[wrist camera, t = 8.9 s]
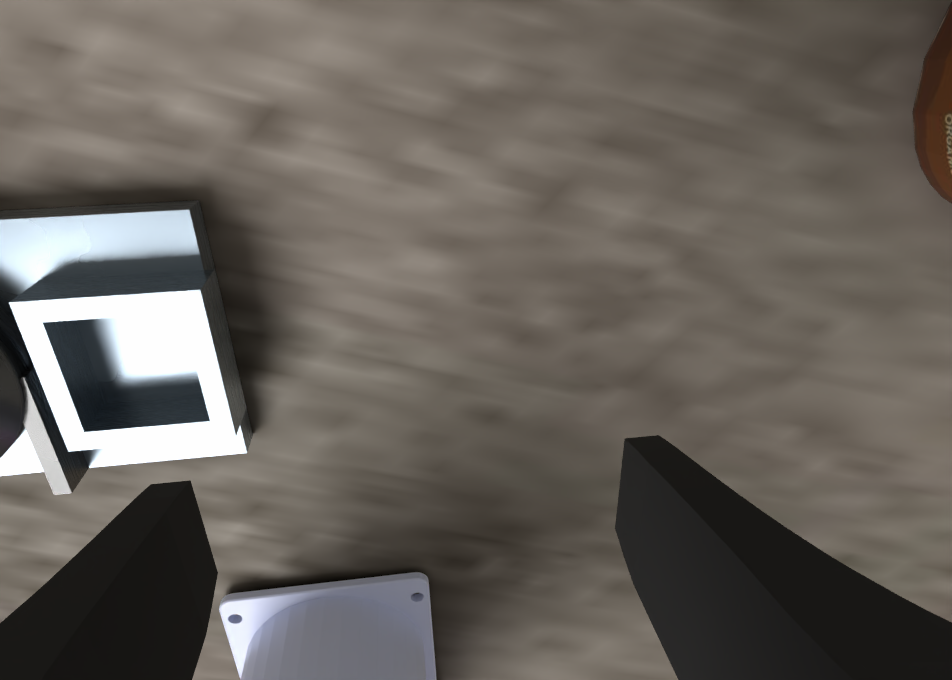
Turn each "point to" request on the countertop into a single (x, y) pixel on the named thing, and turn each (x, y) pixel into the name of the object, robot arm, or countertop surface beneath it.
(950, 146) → the food container
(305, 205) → the countertop surface
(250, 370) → the countertop surface
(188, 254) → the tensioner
